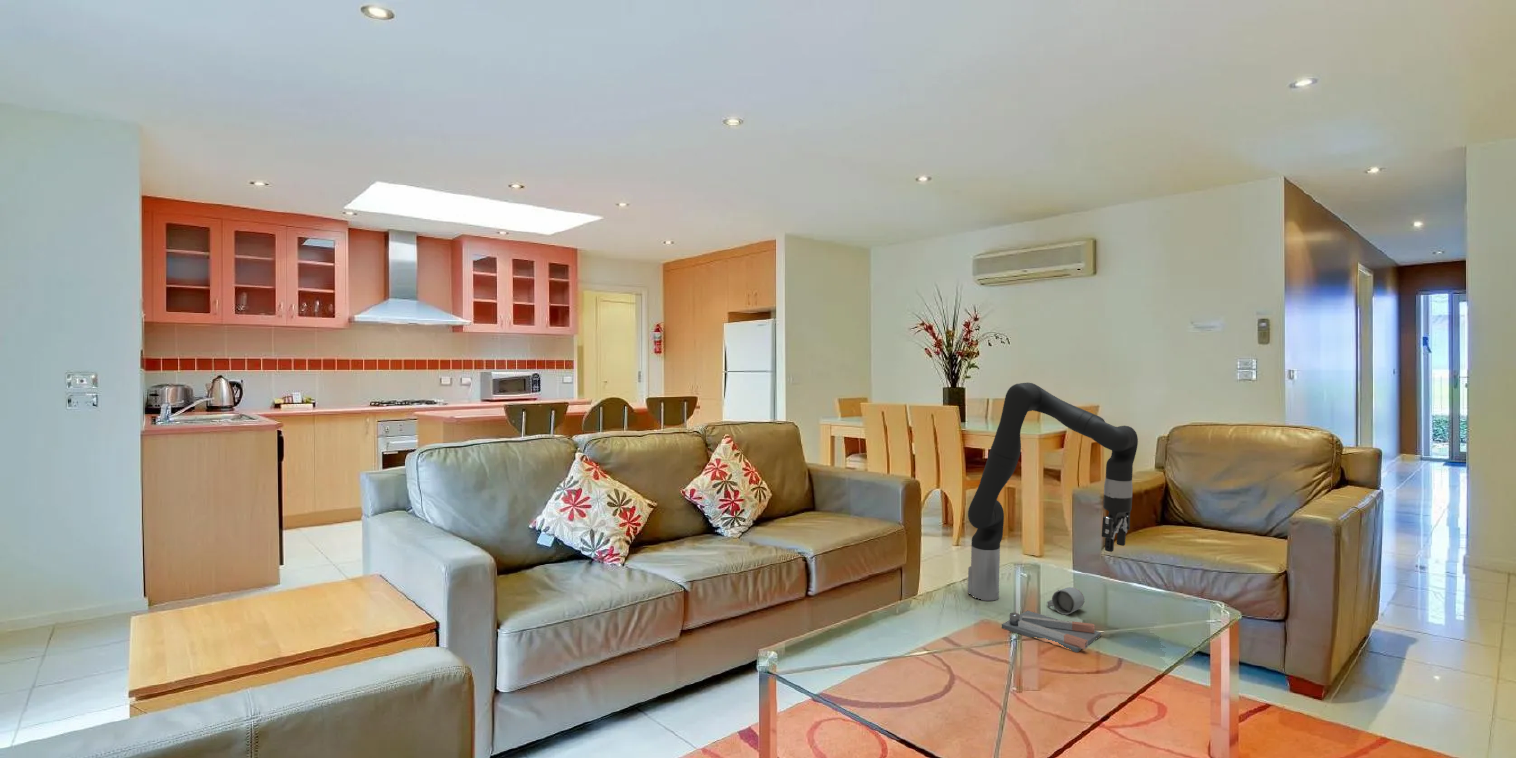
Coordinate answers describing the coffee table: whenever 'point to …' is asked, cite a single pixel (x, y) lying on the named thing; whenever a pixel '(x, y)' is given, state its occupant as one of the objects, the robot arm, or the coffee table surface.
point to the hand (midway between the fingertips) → (1115, 548)
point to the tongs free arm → (1060, 624)
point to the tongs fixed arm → (1048, 632)
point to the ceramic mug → (1067, 600)
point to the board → (1083, 635)
